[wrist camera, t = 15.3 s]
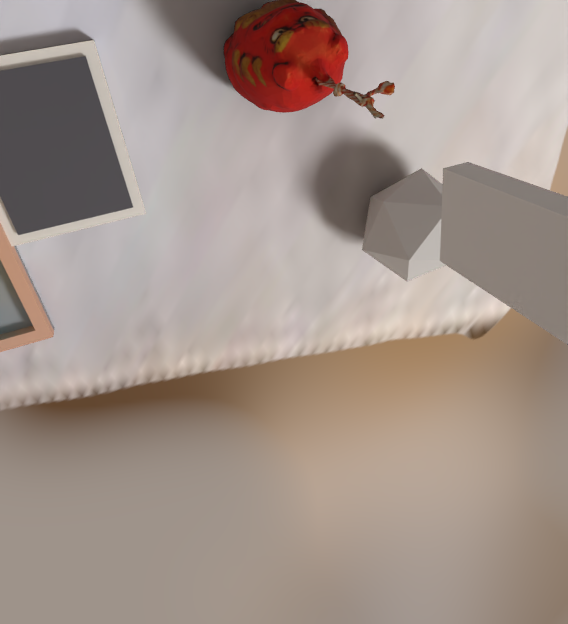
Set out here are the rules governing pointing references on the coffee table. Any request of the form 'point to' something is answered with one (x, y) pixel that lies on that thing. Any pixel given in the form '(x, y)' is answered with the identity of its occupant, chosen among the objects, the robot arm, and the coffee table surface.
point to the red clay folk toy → (290, 58)
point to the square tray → (19, 302)
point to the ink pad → (60, 145)
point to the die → (406, 226)
